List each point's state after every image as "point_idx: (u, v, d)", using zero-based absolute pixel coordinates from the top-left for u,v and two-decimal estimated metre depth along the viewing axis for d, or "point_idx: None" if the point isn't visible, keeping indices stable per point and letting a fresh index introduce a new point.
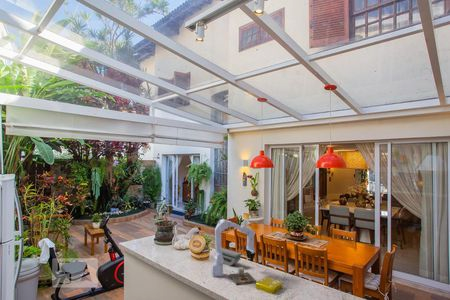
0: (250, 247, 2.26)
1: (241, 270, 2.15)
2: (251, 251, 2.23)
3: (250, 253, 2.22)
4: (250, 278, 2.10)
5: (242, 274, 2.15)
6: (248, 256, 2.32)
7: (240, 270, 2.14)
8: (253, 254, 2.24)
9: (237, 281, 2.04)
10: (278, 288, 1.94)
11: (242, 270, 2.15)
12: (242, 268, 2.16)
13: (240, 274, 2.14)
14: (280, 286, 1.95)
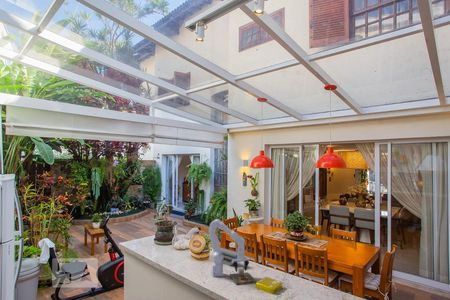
0: (237, 257, 2.17)
1: (241, 270, 2.15)
2: None
3: (232, 261, 2.17)
4: (250, 278, 2.10)
5: (242, 274, 2.15)
6: (244, 268, 2.18)
7: (240, 270, 2.14)
8: None
9: (237, 281, 2.04)
10: (278, 288, 1.94)
11: (242, 270, 2.15)
12: (242, 268, 2.16)
13: (240, 274, 2.14)
14: (280, 286, 1.95)
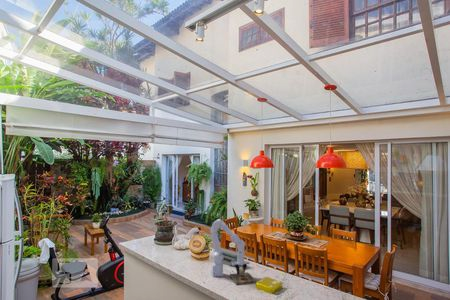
0: (237, 260, 2.17)
1: (241, 270, 2.15)
2: None
3: (234, 264, 2.17)
4: (250, 278, 2.10)
5: (242, 274, 2.15)
6: None
7: (240, 270, 2.14)
8: None
9: (237, 281, 2.04)
10: (278, 288, 1.94)
11: (242, 270, 2.15)
12: (242, 268, 2.16)
13: (240, 274, 2.14)
14: (280, 286, 1.95)
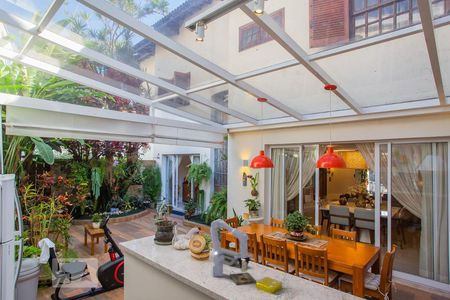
0: (240, 253, 2.12)
1: (244, 263, 2.10)
2: None
3: None
4: (250, 278, 2.10)
5: (245, 267, 2.10)
6: None
7: (243, 263, 2.09)
8: None
9: (237, 281, 2.04)
10: (278, 288, 1.94)
11: (245, 263, 2.10)
12: (245, 261, 2.11)
13: (243, 267, 2.09)
14: (280, 286, 1.95)
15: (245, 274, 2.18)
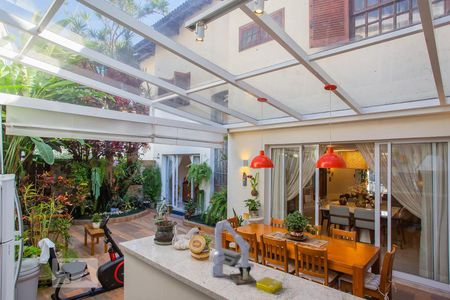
0: (241, 262, 2.08)
1: (245, 273, 2.06)
2: None
3: None
4: (250, 278, 2.10)
5: (246, 277, 2.06)
6: None
7: (244, 273, 2.06)
8: None
9: (237, 281, 2.04)
10: (278, 288, 1.94)
11: (246, 273, 2.06)
12: (246, 271, 2.08)
13: (244, 277, 2.06)
14: (280, 286, 1.95)
15: None
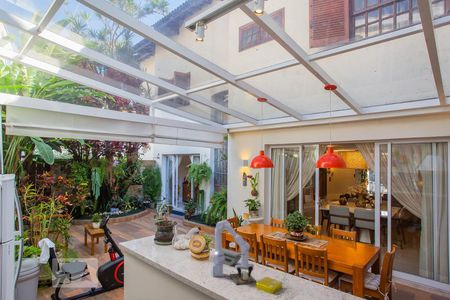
0: (241, 262, 2.08)
1: (245, 274, 2.06)
2: None
3: (236, 267, 2.08)
4: (250, 278, 2.10)
5: (246, 278, 2.06)
6: (248, 274, 2.09)
7: (244, 274, 2.06)
8: None
9: (237, 281, 2.04)
10: (278, 288, 1.94)
11: (246, 274, 2.06)
12: (246, 272, 2.07)
13: (244, 278, 2.06)
14: (280, 286, 1.95)
15: None
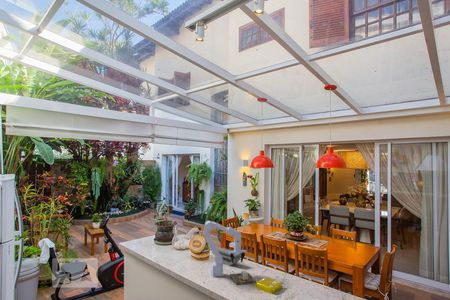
0: (234, 249, 2.23)
1: (245, 274, 2.06)
2: None
3: None
4: (250, 278, 2.10)
5: (246, 278, 2.06)
6: (241, 260, 2.24)
7: (244, 274, 2.06)
8: None
9: (237, 281, 2.04)
10: (278, 288, 1.94)
11: (246, 274, 2.06)
12: (246, 272, 2.07)
13: (244, 278, 2.06)
14: (280, 286, 1.95)
15: None
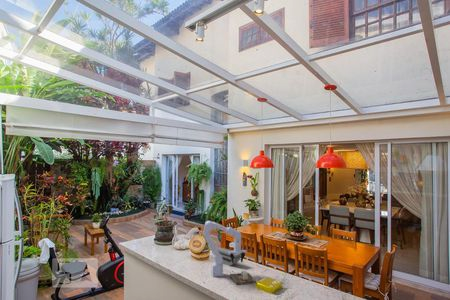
0: (234, 249, 2.23)
1: (245, 274, 2.06)
2: None
3: None
4: (250, 278, 2.10)
5: (246, 278, 2.06)
6: (241, 260, 2.24)
7: (244, 274, 2.06)
8: None
9: (237, 281, 2.04)
10: (278, 288, 1.94)
11: (246, 274, 2.06)
12: (246, 272, 2.07)
13: (244, 278, 2.06)
14: (280, 286, 1.95)
15: None
